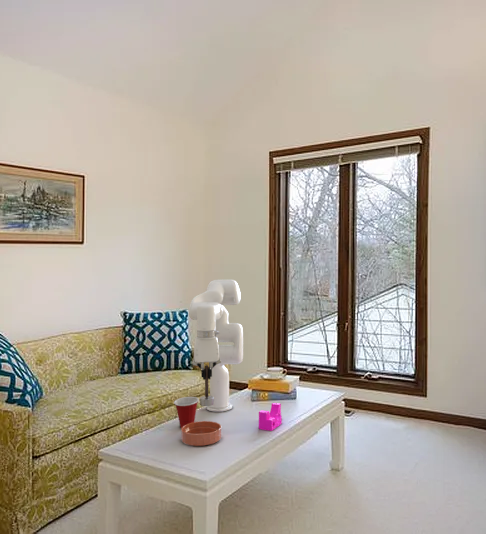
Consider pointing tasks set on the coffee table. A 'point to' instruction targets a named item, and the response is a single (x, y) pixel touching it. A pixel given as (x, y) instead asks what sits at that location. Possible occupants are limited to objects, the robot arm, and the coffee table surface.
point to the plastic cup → (186, 409)
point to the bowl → (201, 433)
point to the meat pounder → (206, 392)
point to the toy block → (270, 417)
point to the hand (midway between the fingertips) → (206, 378)
